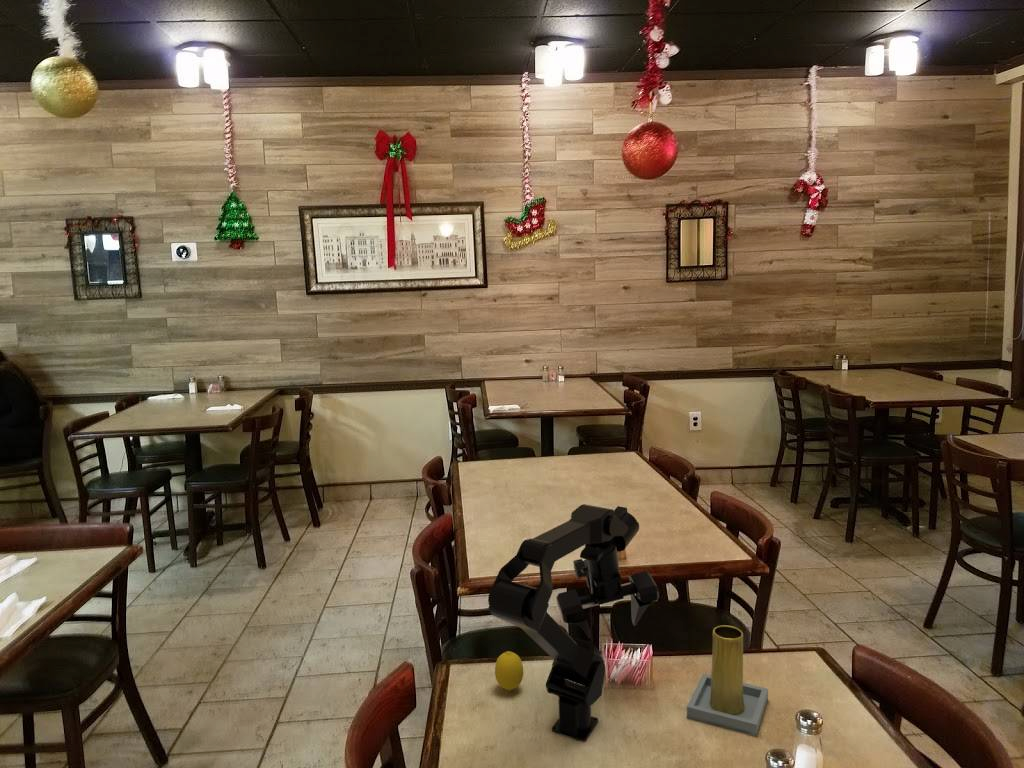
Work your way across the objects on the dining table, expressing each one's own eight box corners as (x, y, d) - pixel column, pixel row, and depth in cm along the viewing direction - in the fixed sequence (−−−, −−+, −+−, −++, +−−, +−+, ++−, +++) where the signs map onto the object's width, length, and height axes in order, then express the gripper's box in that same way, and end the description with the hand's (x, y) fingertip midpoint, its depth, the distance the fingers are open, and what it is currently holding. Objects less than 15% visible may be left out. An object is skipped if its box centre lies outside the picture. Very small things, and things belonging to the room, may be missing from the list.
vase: (723, 691, 132) (724, 620, 130) (751, 706, 127) (753, 633, 125) (702, 703, 128) (703, 630, 126) (730, 719, 123) (731, 644, 121)
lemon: (507, 679, 140) (506, 641, 139) (529, 688, 136) (528, 650, 135) (489, 691, 135) (488, 653, 134) (511, 701, 132) (510, 662, 131)
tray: (756, 736, 119) (756, 724, 119) (686, 718, 125) (686, 706, 125) (767, 699, 130) (768, 688, 130) (702, 684, 136) (703, 673, 135)
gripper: (636, 529, 138) (643, 592, 144) (545, 552, 136) (555, 614, 142) (657, 563, 127) (663, 629, 134) (558, 588, 126) (569, 653, 132)
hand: (611, 630), depth 136 cm, fingers open, 9 cm apart
